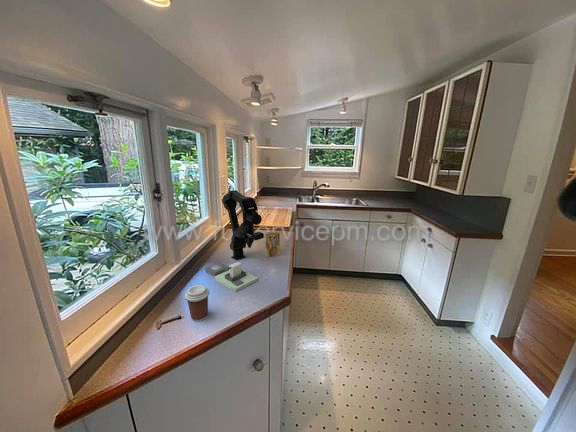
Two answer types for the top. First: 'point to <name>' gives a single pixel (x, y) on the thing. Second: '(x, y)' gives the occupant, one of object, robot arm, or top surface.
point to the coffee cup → (198, 302)
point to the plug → (234, 269)
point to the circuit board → (236, 280)
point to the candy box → (272, 244)
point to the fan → (216, 269)
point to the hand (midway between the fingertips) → (249, 247)
